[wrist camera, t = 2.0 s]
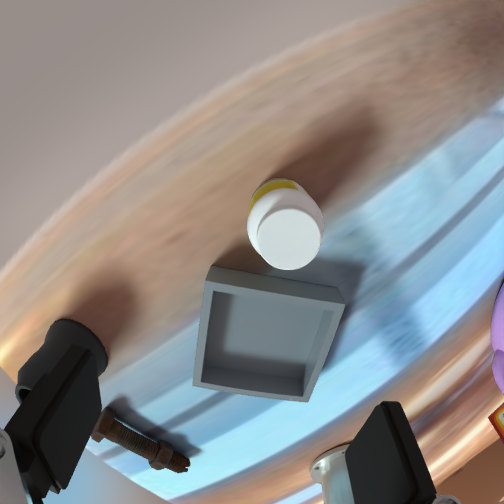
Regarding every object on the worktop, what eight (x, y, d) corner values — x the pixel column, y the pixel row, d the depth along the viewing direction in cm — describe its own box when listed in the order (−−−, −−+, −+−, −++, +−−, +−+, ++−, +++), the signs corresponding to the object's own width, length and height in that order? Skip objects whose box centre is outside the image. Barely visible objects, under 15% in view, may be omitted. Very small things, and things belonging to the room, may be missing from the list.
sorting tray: (337, 287, 31) (345, 304, 28) (304, 381, 35) (307, 402, 32) (210, 265, 31) (205, 280, 27) (197, 365, 35) (192, 385, 31)
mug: (62, 304, 33) (9, 357, 22) (119, 353, 35) (82, 418, 24) (36, 354, 36) (-5, 403, 25) (84, 394, 38) (53, 450, 27)
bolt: (186, 450, 44) (104, 405, 40) (199, 452, 40) (109, 404, 37) (173, 479, 40) (88, 436, 36) (185, 484, 36) (91, 438, 33)
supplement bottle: (238, 216, 29) (228, 252, 20) (270, 166, 27) (275, 177, 18) (288, 247, 30) (300, 294, 21) (321, 198, 28) (350, 226, 19)
